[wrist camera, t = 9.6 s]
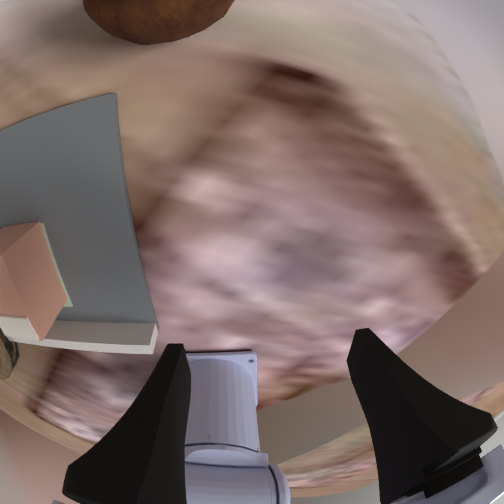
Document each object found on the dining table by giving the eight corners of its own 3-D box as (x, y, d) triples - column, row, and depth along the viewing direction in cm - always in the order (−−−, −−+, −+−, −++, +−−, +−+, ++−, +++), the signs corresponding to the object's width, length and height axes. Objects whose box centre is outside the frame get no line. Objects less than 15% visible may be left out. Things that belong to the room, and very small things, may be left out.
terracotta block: (40, 221, 17) (0, 256, 12) (67, 299, 20) (41, 342, 16) (3, 227, 16) (-35, 259, 12) (31, 298, 20) (4, 337, 15)
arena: (159, 327, 23) (152, 354, 20) (21, 321, 22) (9, 340, 19) (116, 93, 14) (95, 92, 11) (-36, 149, 13) (-59, 158, 10)
